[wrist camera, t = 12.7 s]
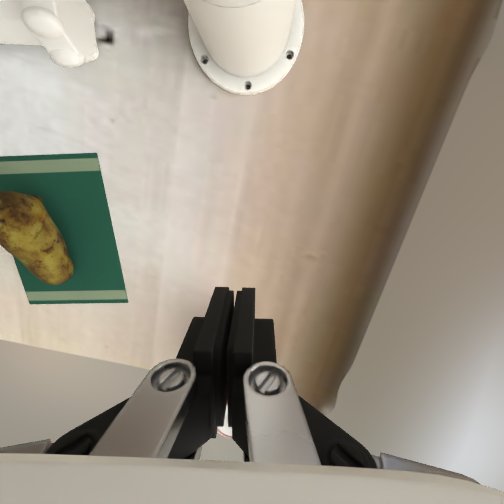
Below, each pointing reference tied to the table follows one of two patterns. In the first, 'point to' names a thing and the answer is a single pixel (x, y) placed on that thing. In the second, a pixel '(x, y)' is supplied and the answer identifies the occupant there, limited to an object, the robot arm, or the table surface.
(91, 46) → the white bone
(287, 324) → the table surface
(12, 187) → the towel
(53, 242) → the potato
